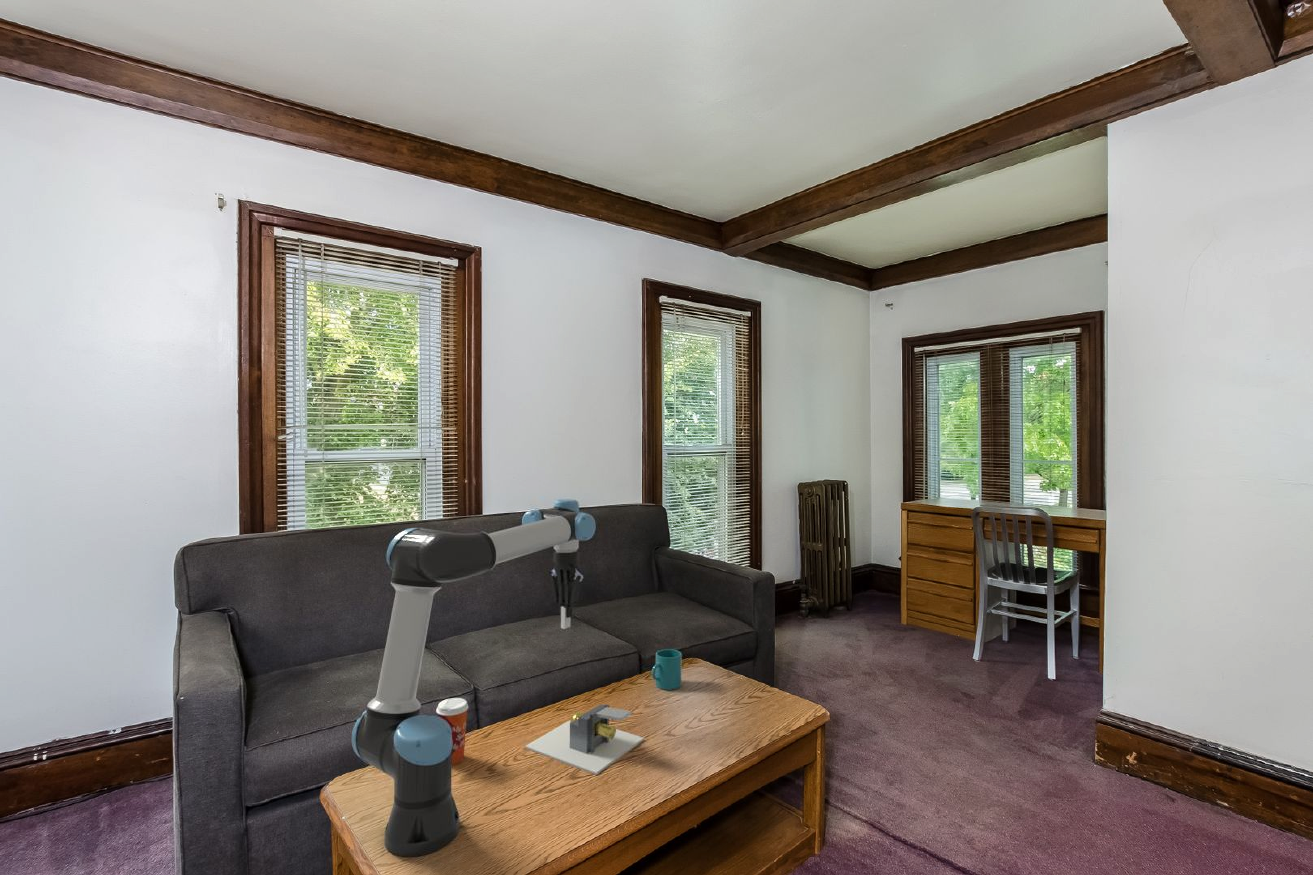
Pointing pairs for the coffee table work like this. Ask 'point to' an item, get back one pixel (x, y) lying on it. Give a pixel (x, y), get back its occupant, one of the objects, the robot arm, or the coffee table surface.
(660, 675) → the cup
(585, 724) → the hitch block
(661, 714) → the coffee table surface
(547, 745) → the mat
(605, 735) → the pin
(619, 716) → the grey flat brushed plate
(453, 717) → the coffee cup
